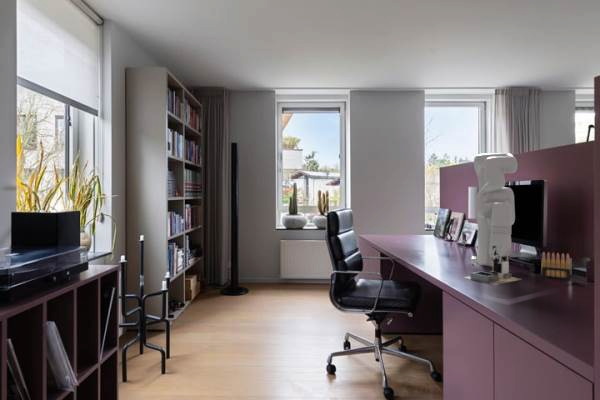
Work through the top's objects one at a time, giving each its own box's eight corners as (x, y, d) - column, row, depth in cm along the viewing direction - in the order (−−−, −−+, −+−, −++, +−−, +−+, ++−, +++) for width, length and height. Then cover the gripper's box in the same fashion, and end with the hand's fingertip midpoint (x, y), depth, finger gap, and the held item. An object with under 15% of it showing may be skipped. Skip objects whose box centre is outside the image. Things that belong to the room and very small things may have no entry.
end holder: (470, 278, 142) (470, 272, 142) (481, 276, 145) (481, 271, 145) (488, 282, 135) (488, 276, 135) (498, 280, 139) (498, 274, 139)
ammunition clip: (541, 277, 152) (541, 251, 152) (540, 277, 154) (541, 251, 154) (570, 280, 147) (571, 253, 147) (569, 279, 149) (570, 253, 149)
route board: (463, 280, 144) (463, 270, 144) (489, 275, 154) (490, 266, 154) (495, 288, 132) (495, 277, 132) (522, 282, 142) (522, 272, 142)
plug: (492, 276, 147) (492, 258, 147) (498, 275, 149) (498, 257, 149) (502, 278, 143) (503, 259, 143) (508, 277, 145) (508, 259, 145)
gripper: (503, 229, 154) (502, 268, 154) (481, 230, 145) (480, 272, 145) (520, 230, 147) (519, 271, 147) (499, 232, 139) (498, 275, 139)
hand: (500, 271), depth 146 cm, fingers closed on plug, 4 cm apart
